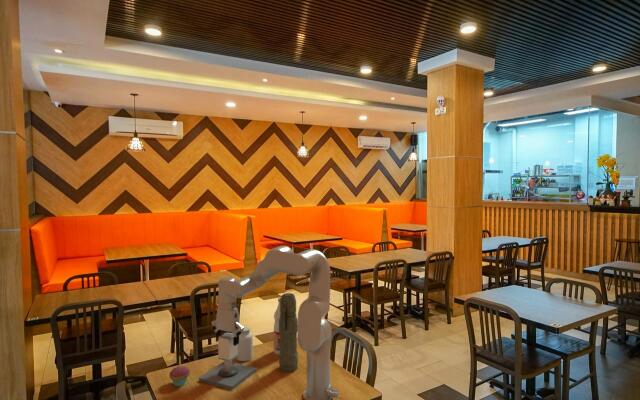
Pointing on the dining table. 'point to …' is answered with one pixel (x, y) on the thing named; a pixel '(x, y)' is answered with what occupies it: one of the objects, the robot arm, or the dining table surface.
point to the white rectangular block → (227, 347)
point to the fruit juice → (277, 330)
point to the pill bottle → (245, 345)
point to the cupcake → (179, 374)
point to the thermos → (288, 333)
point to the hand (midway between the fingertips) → (227, 342)
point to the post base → (227, 375)
